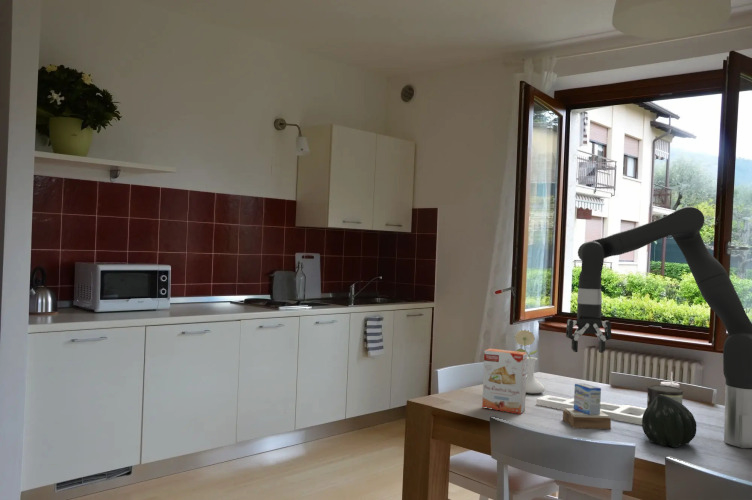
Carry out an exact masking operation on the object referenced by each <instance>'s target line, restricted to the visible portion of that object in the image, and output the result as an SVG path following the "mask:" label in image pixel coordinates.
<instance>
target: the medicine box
mask: <svg viewBox="0 0 752 500" xmlns="http://www.w3.org/2000/svg"><path fill="white" fill-rule="evenodd" d="M573 390H574V394H573V398H574V410H576V411H579V412H582V413H585V414H588V415H598V414H600V402H602V401H601V395H602V388H601V387H598V386H594V385H591V384H589V383H583V382H582V383H580V382H578V383H574V389H573Z"/></svg>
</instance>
